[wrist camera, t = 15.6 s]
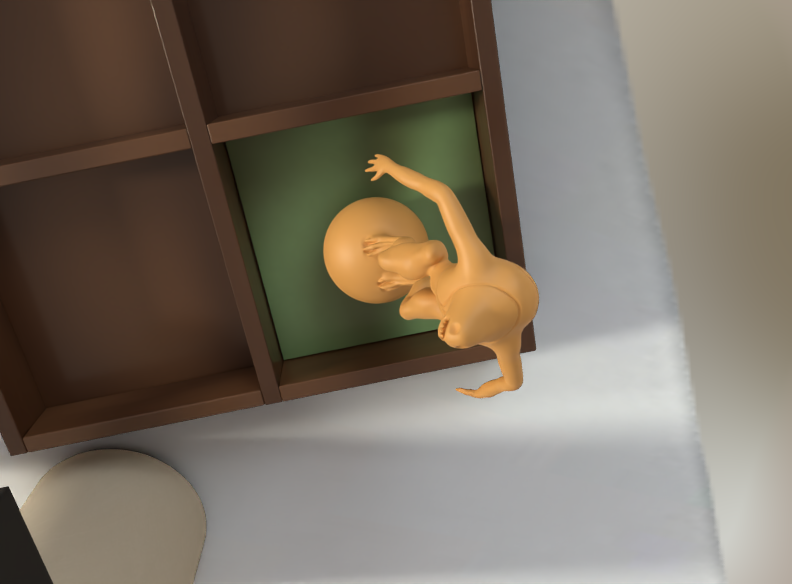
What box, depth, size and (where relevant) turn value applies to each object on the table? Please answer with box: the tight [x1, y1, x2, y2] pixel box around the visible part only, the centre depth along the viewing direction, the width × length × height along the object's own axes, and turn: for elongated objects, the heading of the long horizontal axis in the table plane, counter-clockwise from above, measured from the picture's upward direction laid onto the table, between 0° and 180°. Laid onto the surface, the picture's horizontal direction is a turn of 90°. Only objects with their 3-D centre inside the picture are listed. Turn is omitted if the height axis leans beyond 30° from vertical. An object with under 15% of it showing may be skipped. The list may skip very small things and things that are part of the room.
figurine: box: [323, 154, 539, 398], centre depth 23 cm, size 8×6×12 cm
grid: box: [0, 0, 536, 456], centre depth 26 cm, size 21×21×3 cm
